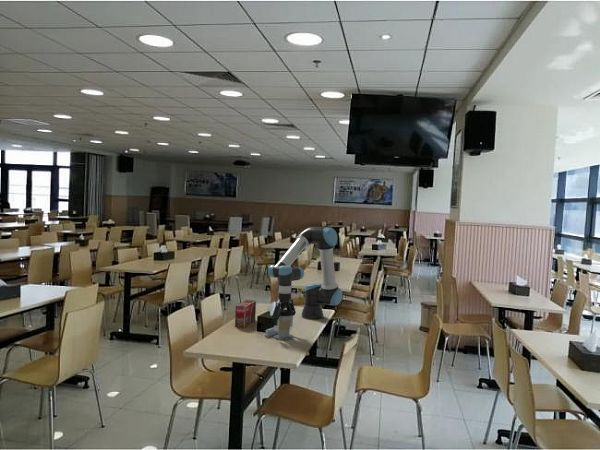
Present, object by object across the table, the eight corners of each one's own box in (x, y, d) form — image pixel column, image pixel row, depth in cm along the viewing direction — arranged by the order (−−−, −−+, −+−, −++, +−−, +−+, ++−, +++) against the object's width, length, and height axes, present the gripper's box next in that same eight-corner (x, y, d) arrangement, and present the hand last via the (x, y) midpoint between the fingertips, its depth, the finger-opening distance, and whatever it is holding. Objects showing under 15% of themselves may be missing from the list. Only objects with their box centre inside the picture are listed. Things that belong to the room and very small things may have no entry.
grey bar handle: (280, 330, 288) (281, 324, 288) (284, 331, 286) (285, 325, 286) (264, 336, 275) (264, 329, 275) (268, 337, 273) (268, 330, 273)
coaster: (281, 333, 283) (281, 332, 283) (297, 337, 276) (297, 336, 276) (268, 337, 273) (268, 336, 273) (285, 341, 266) (285, 340, 266)
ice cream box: (244, 328, 292) (245, 306, 292) (235, 327, 294) (235, 305, 293) (255, 320, 312) (255, 300, 311) (246, 319, 313) (246, 299, 313)
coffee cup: (288, 339, 269) (289, 313, 268) (272, 337, 272) (273, 311, 271) (293, 335, 277) (294, 310, 277) (278, 333, 281) (279, 308, 280)
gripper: (292, 288, 286) (291, 323, 287) (266, 294, 265) (265, 331, 266) (302, 290, 281) (301, 325, 282) (276, 296, 261) (275, 334, 262)
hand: (283, 328), depth 274 cm, fingers open, 13 cm apart
